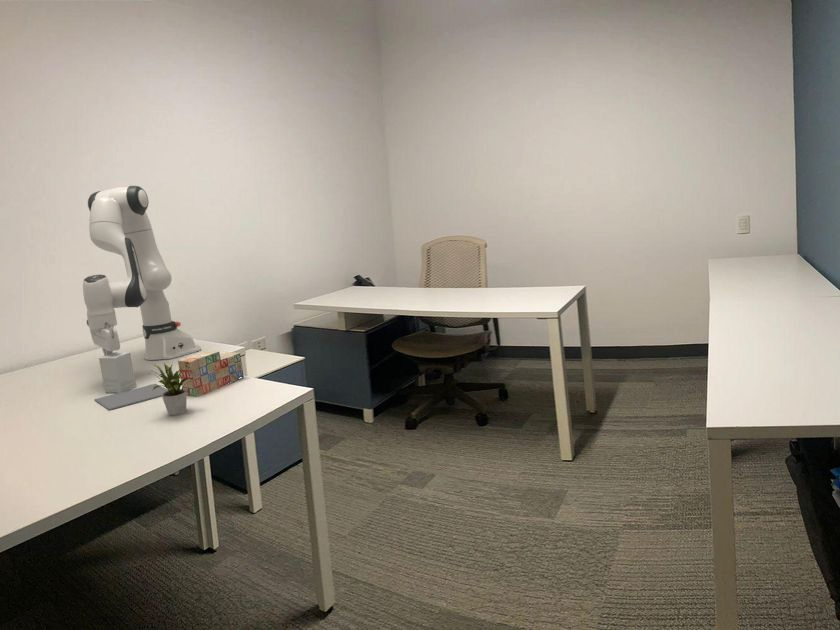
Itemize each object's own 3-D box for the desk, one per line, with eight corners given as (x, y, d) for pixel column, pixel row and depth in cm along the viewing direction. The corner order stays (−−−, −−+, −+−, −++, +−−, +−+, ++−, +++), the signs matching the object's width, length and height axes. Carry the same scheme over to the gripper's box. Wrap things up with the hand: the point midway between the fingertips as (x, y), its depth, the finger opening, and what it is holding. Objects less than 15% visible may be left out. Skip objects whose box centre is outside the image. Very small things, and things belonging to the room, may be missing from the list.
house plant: (137, 419, 183) (127, 366, 180) (170, 403, 196) (162, 353, 192) (175, 422, 178) (166, 368, 175) (207, 406, 190) (199, 355, 187)
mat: (155, 384, 218) (155, 383, 218) (172, 393, 206) (172, 392, 206) (94, 400, 205) (94, 399, 205) (109, 410, 193) (108, 409, 193)
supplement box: (137, 386, 218) (131, 352, 215) (121, 393, 211) (114, 357, 208) (120, 386, 220) (114, 351, 218) (104, 392, 213) (97, 357, 211)
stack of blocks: (231, 376, 222) (226, 343, 219) (244, 378, 219) (239, 344, 216) (182, 395, 204) (177, 359, 201) (195, 397, 201) (190, 361, 198)
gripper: (121, 323, 211) (127, 362, 213) (103, 317, 226) (110, 353, 228) (101, 326, 207) (108, 366, 209) (85, 320, 222) (91, 357, 224)
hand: (109, 359), depth 219 cm, fingers closed
